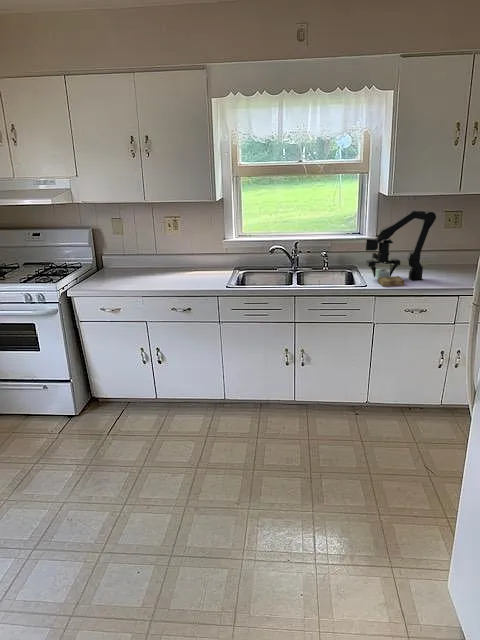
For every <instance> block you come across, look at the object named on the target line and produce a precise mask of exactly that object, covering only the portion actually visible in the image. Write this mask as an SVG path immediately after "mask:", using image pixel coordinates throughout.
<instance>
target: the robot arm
mask: <svg viewBox="0 0 480 640" xmlns="http://www.w3.org/2000/svg"><path fill="white" fill-rule="evenodd" d="M436 218H437V215H436V213H435V212H434V211H433V210H427V211H425V210H424V211H423V210H416V209H415V210H414V209H413V210H411V211H410V212H409V213H407V214H406V215H404V216H403V217H401V218H400V219H398V220H397V221H395V222H394V223H392V224H390V225H387V226H385V227H383V228H382V229H380V231H379V234H378V235H377V236H376V237H375V238H366V241H365V251H366V252H367V251H369V252H373V253H372V255H371V258H372V259H367V260H366V261H365V265H366V266H367V267H369V268H370V269H371V271H372V276H373V278H376V269H377V267H376V265H389V271H388V272H389V277H392V275H393V273H394V271H395V270H396V268H397V267H399V266H401V259H398V258H397V257H396V258H390V257H389V255H390V244H393V243H394V242H393V240H392V239H391V237H392V236H393V235H394V234H395V233H396V232H397V231H398V230H400V229H401V228H402V227H404V226H405V225H407V224H408V223H410V222H411V221H412V220H414V219H418V220H422V221H421V222H422V225H421V229H420V231H419V234H418V237H417V239H416V241H415V246H413V247H414V248H413V250H412V252H411V251H408V256H407V258H406V260H407V263H408V266H409V267H410V268H409V271H408V279H409V280H410V281H412V282H413V281H414V282H415V281H417V282H418V281H424V279H423V272H424V271H423V268H424V267H423V265H422V263H421V262H420V260H421V253H422V250H423V247H424V245H425V242H426V239H427V236H428V233H429V230H430V229H431V227H432V225H434V223H435V220H436ZM377 250H378V251H377ZM375 251H377V252H375ZM389 258H390V260H389Z"/></svg>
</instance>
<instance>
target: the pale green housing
mask: <svg viewBox="0 0 480 640" xmlns="http://www.w3.org/2000/svg"><path fill="white" fill-rule="evenodd" d="M389 272H390V271H389V270H388V269H386V268H376V276H375V278H376V279H377V280H378V277H390V276H389Z"/></svg>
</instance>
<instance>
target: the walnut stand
mask: <svg viewBox="0 0 480 640" xmlns="http://www.w3.org/2000/svg"><path fill="white" fill-rule="evenodd" d="M405 282H406V281H405V279H403V278H402V277H400V276H399V275H396V276H391V277H390V276H389V277H378V279H377V284H379V285H381V287H383V288H384V287H400V286H405V284H406V283H405Z"/></svg>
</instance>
